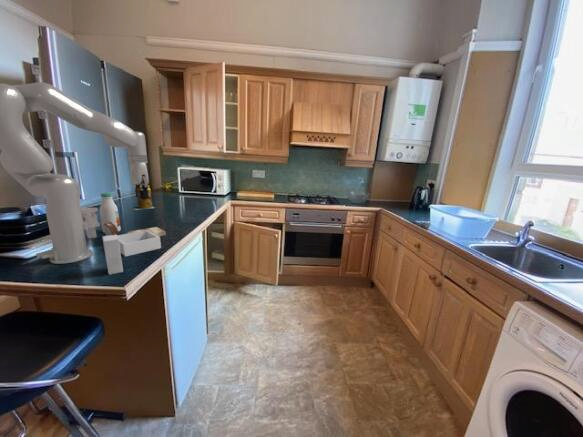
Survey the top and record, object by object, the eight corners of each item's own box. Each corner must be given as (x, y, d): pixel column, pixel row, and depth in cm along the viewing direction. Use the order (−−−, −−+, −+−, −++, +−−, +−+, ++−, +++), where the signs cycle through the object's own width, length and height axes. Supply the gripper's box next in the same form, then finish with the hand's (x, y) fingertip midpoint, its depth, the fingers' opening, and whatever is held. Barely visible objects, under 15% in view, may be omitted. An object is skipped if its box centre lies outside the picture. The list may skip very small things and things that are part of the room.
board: (134, 241, 117) (134, 237, 117) (127, 235, 124) (126, 232, 124) (165, 234, 127) (165, 231, 127) (156, 230, 134) (156, 226, 134)
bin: (125, 256, 99) (123, 244, 98) (114, 247, 109) (112, 236, 108) (161, 248, 109) (160, 237, 108) (148, 240, 119) (147, 230, 117)
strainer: (82, 236, 121) (77, 206, 118) (100, 234, 126) (96, 204, 122) (83, 240, 116) (78, 208, 113) (102, 237, 121) (98, 206, 117)
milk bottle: (114, 233, 127) (108, 194, 122) (99, 233, 127) (92, 194, 122) (124, 229, 134) (119, 192, 130) (109, 229, 135) (104, 191, 130)
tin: (121, 244, 112) (119, 226, 110) (113, 246, 110) (110, 227, 108) (112, 237, 122) (110, 220, 120) (104, 238, 120) (102, 221, 118)
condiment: (155, 208, 123) (152, 183, 120) (135, 210, 117) (132, 184, 115) (150, 205, 128) (148, 182, 125) (131, 207, 122) (128, 183, 120)
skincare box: (107, 268, 88) (102, 236, 85) (121, 266, 91) (117, 234, 88) (108, 275, 84) (102, 240, 81) (123, 272, 86) (118, 238, 83)
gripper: (122, 159, 120) (127, 196, 124) (135, 159, 109) (140, 201, 113) (140, 159, 126) (144, 195, 130) (153, 160, 114) (157, 199, 119)
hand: (142, 197), depth 121 cm, fingers closed on condiment, 6 cm apart
